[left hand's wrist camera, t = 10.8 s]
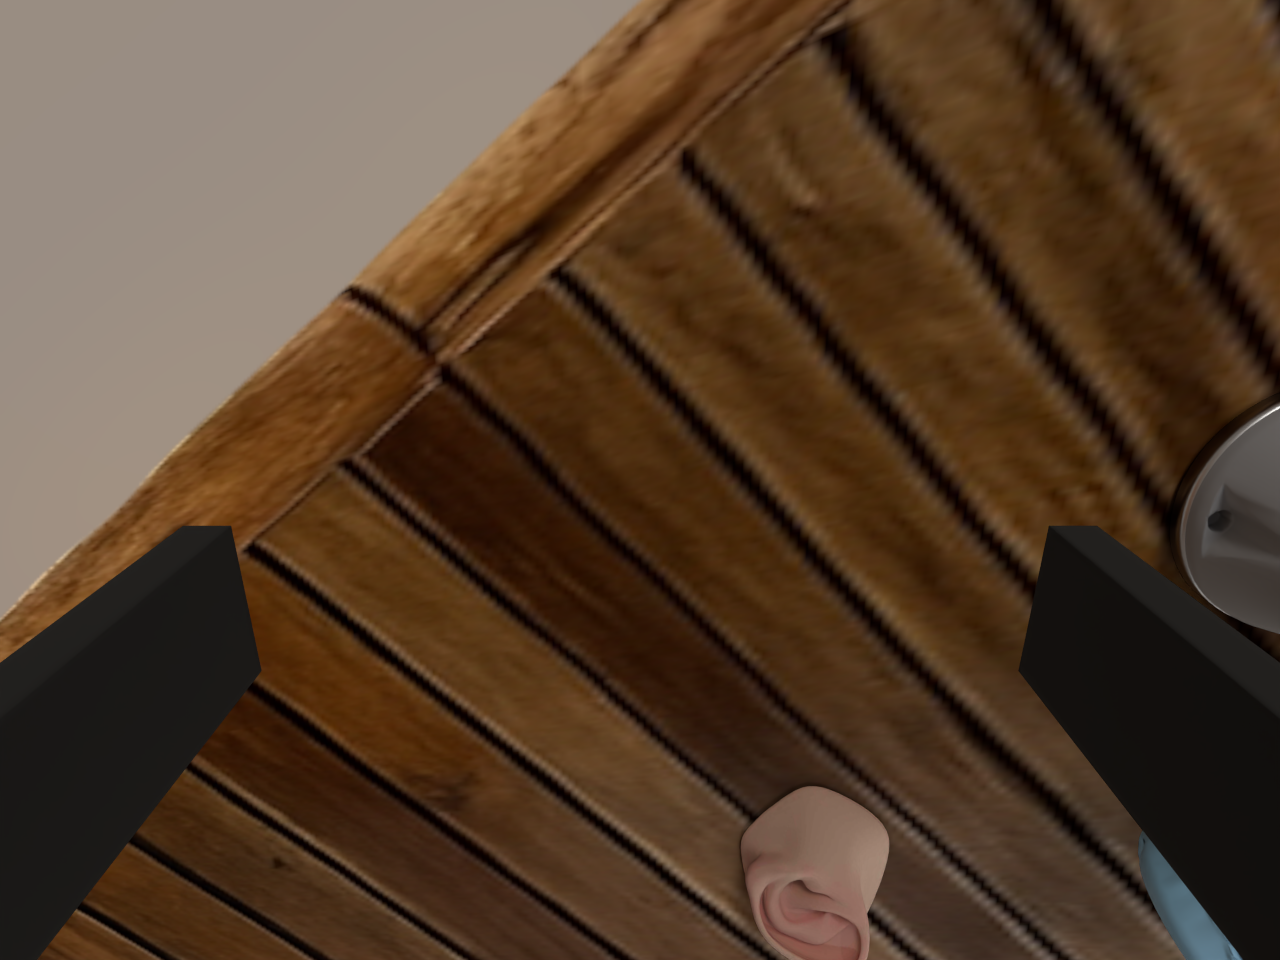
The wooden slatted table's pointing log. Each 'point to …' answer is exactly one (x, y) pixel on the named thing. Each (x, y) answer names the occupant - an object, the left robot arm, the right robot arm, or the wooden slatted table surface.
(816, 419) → the wooden slatted table surface
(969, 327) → the wooden slatted table surface
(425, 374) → the wooden slatted table surface
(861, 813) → the anatomical model
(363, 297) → the wooden slatted table surface
